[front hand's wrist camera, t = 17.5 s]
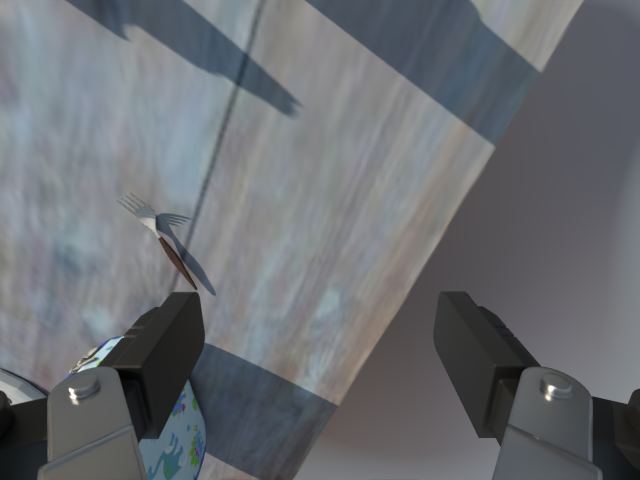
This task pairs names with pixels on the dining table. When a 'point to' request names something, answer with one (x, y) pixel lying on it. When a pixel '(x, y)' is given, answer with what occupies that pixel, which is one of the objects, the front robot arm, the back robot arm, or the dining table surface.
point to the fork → (149, 220)
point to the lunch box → (165, 430)
